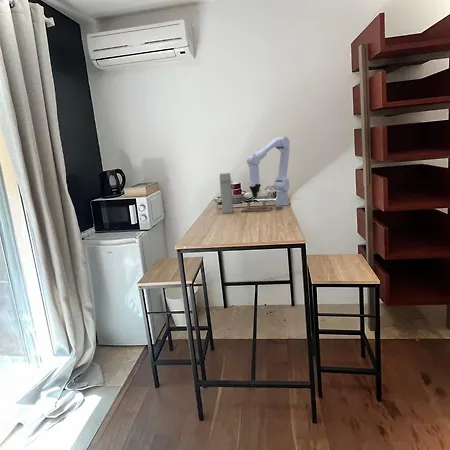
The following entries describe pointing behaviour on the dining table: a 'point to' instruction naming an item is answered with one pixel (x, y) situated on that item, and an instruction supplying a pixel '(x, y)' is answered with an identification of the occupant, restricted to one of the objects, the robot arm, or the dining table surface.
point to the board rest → (279, 207)
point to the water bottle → (226, 193)
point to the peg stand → (256, 208)
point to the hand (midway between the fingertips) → (255, 196)
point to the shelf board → (259, 194)
